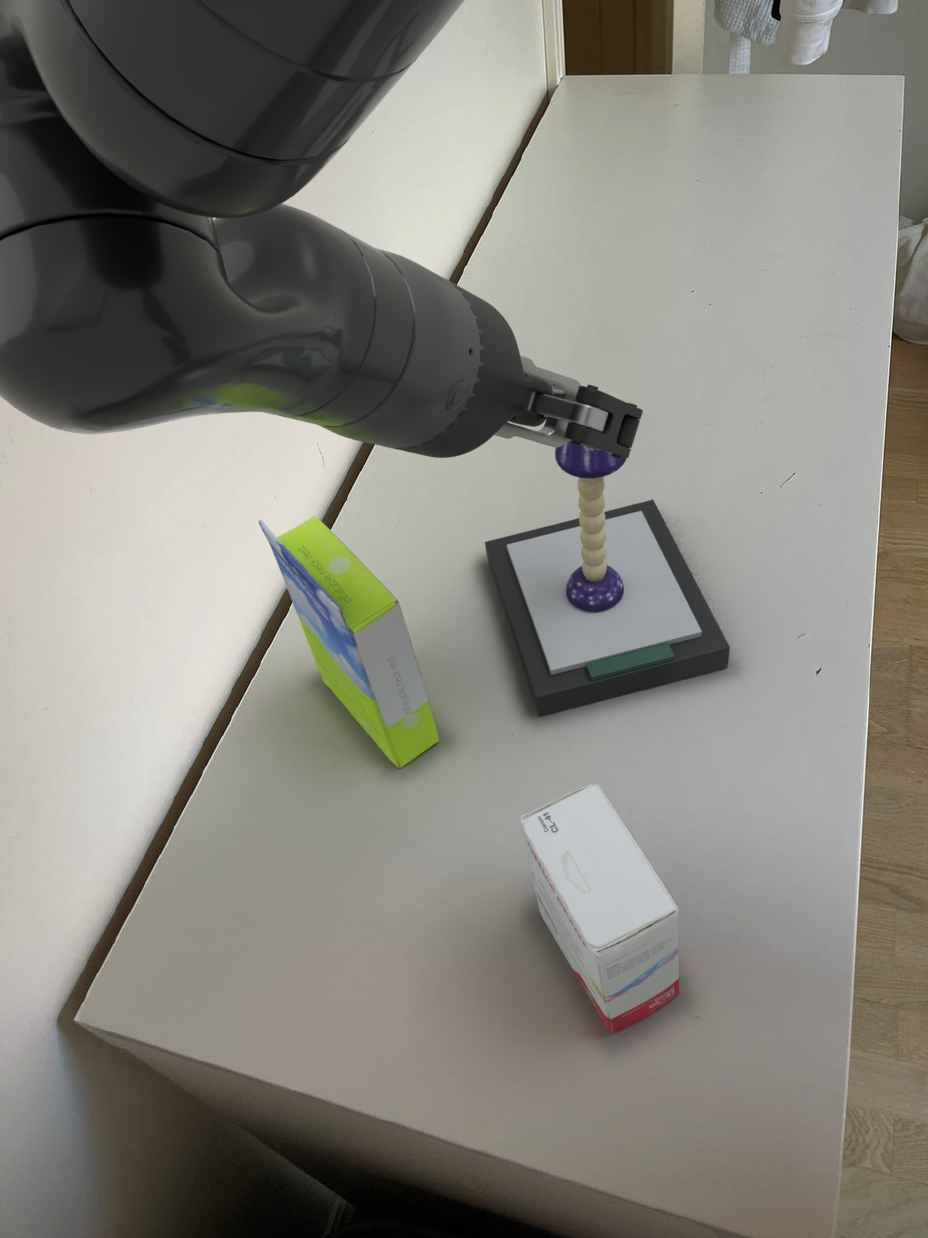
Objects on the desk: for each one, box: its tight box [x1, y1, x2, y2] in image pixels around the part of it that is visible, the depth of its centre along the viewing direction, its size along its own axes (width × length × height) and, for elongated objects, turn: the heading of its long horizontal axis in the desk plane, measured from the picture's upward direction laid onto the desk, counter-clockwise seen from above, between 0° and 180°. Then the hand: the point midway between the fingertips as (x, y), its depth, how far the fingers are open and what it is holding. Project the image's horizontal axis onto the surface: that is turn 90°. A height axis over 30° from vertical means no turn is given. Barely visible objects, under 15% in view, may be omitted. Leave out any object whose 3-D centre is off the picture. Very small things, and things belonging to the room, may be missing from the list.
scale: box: [484, 499, 731, 717], centre depth 75 cm, size 16×14×3 cm
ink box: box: [519, 782, 680, 1034], centre depth 54 cm, size 9×5×12 cm, turn 25°
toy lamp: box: [554, 441, 628, 612], centre depth 67 cm, size 5×5×17 cm
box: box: [258, 515, 440, 769], centre depth 66 cm, size 10×4×17 cm, turn 36°
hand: (548, 414), depth 56 cm, fingers open, 8 cm apart
